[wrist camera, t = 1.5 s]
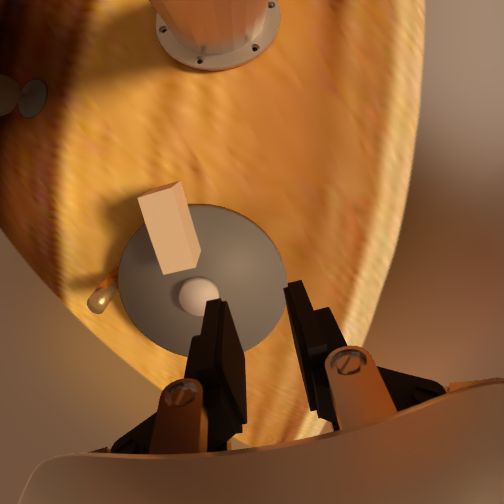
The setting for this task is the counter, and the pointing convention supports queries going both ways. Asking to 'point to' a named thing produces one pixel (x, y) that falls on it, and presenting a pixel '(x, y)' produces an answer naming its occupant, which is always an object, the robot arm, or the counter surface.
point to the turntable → (198, 271)
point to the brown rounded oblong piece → (104, 293)
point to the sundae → (22, 96)
